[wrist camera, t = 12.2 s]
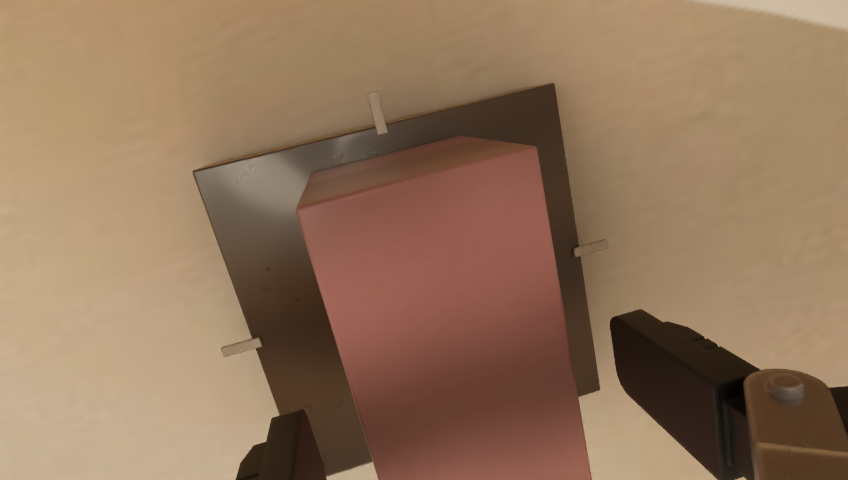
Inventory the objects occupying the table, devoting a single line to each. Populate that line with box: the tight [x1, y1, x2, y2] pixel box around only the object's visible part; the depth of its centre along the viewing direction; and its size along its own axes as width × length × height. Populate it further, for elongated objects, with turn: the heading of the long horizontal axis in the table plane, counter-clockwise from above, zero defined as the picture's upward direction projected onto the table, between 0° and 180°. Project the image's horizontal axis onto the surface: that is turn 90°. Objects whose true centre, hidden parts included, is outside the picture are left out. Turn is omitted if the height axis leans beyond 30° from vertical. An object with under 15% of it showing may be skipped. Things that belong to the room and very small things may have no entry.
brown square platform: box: [193, 83, 608, 477], centre depth 20 cm, size 15×15×2 cm
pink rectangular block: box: [296, 136, 592, 480], centre depth 15 cm, size 11×6×7 cm, turn 13°
